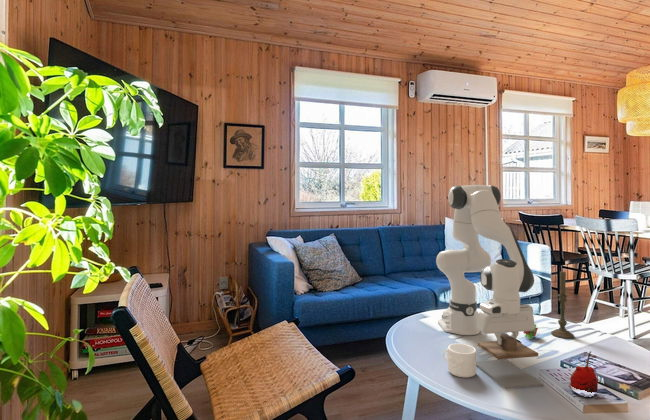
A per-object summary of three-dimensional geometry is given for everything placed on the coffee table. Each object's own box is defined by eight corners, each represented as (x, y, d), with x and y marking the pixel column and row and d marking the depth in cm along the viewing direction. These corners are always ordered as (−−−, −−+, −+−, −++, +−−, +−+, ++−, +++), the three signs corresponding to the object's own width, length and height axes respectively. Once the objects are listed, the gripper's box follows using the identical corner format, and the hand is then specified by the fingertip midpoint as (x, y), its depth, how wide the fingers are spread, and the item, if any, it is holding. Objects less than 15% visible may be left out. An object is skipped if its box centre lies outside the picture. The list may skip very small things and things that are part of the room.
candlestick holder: (579, 337, 173) (579, 271, 172) (564, 340, 169) (565, 272, 169) (560, 330, 181) (560, 267, 180) (546, 333, 178) (546, 269, 177)
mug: (436, 371, 140) (436, 347, 140) (450, 363, 147) (449, 339, 147) (468, 382, 132) (467, 356, 131) (480, 372, 139) (480, 348, 138)
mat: (473, 363, 146) (473, 361, 146) (506, 361, 148) (506, 359, 148) (505, 389, 127) (505, 387, 127) (543, 385, 129) (543, 383, 129)
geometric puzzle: (534, 329, 178) (525, 316, 176) (546, 334, 171) (537, 321, 170) (524, 339, 176) (515, 327, 175) (535, 345, 170) (526, 332, 168)
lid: (477, 345, 142) (477, 331, 142) (514, 342, 144) (514, 329, 144) (498, 359, 129) (498, 344, 129) (538, 356, 132) (538, 341, 131)
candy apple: (589, 388, 126) (590, 344, 126) (603, 400, 119) (604, 352, 119) (565, 388, 127) (566, 343, 126) (578, 399, 120) (578, 352, 119)
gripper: (526, 301, 141) (526, 338, 142) (475, 304, 138) (475, 342, 139) (538, 306, 135) (538, 345, 135) (485, 309, 132) (485, 349, 132)
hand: (506, 343), depth 137 cm, fingers closed on lid, 3 cm apart
